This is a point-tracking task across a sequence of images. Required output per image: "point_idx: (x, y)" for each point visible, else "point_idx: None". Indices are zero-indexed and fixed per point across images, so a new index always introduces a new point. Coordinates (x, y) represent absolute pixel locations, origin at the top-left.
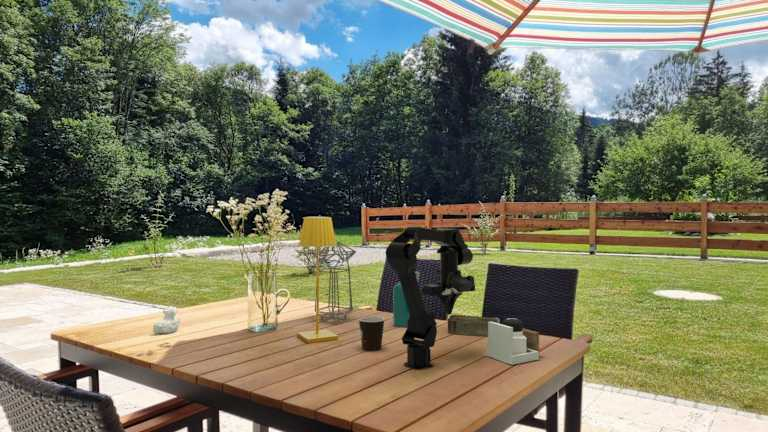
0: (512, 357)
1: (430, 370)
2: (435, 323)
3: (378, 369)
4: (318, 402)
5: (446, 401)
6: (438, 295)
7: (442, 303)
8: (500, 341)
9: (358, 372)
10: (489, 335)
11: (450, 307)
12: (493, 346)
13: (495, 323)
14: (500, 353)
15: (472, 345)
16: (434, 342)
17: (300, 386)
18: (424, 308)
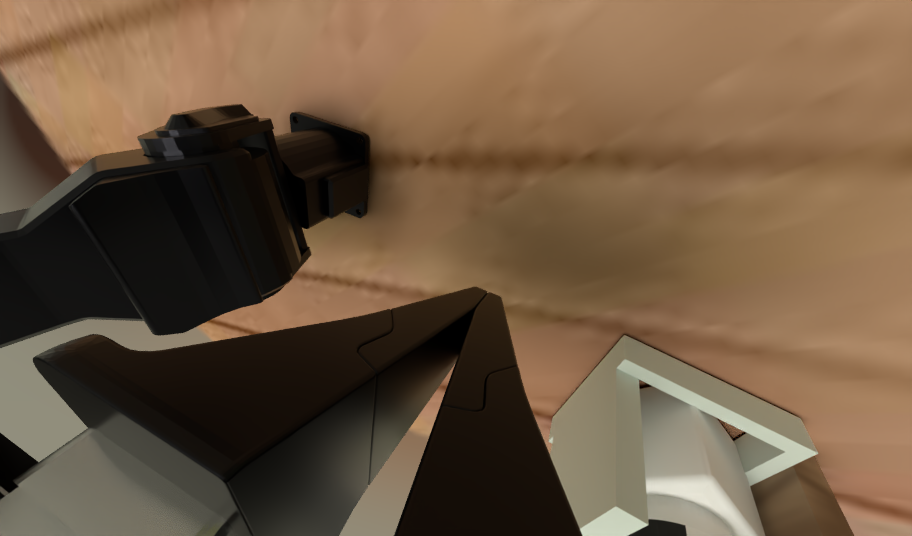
0: (552, 441)
1: (337, 226)
2: (245, 302)
3: (206, 68)
4: (64, 139)
5: (262, 332)
6: (195, 363)
7: (379, 316)
8: (570, 456)
9: (144, 35)
10: (609, 432)
11: (437, 381)
12: (595, 404)
13: (596, 531)
14: (575, 410)
15: (874, 205)
16: (303, 261)
17: (6, 5)
18: (48, 329)
